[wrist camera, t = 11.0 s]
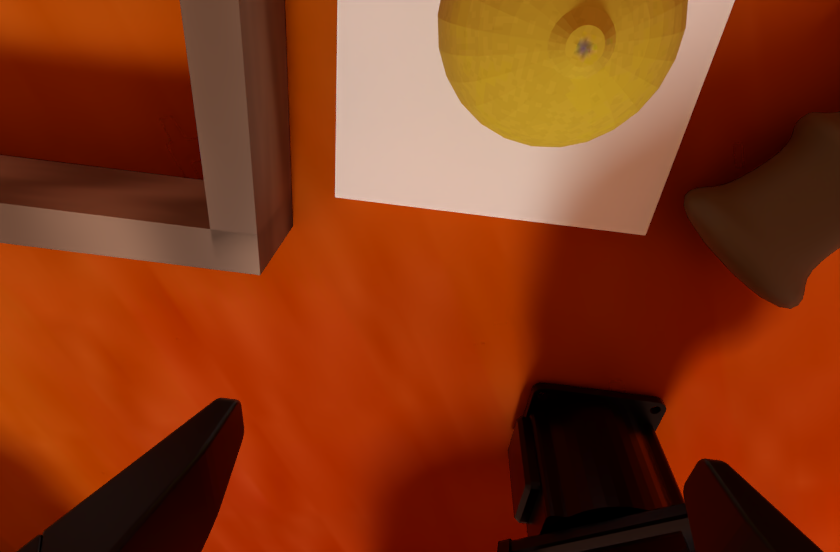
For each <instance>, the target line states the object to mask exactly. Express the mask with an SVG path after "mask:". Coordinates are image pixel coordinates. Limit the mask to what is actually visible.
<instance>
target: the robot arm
mask: <svg viewBox="0 0 840 552" xmlns="http://www.w3.org/2000/svg"><path fill="white" fill-rule="evenodd" d="M541 392H545V393H544V394H539V393H541ZM655 406H656V407H655ZM652 407H654V408H652ZM665 412H666V407H665V404H664V402H663V400H662V399H661V398H659V397H654V396H646V395H638V394H630V393H622V392H614V391H606V390H598V389H590V388H583V387H575V386H567V385H559V384H551V383H538V384H536V385H534V386H533V388H532V390H531V393H530V396H529V400H528V403H527V406H526V410H525V413H524V416H520V417H519V418H518V419H517V421H516V424H515V427H514V431H513V434H512V438H511V441H510V445H509V448H508V458H509V468H510V479H511V489H512V500H513V510H514V517H515V519H516V520H517V521H518V522H519V523H526V524H527V533H528V537H526V538H521V539H517V540H511V539H506V540H502V541H499V542H498V550H497V552H823V551H822V550H821V549H820V548H819V547H818V546H817V545H815V544H814V543H813V542H812V541H811V540H810V539H809V538H808V537H807V536H806V535H805V534H803V533H802V532H801V531H800V530H799V529H798V528H797V527H796V526H795V525H794V524H793V523H791V522H790V521H789V520H788V519H787V518H786V517H785V516H784V515H783V514H782V513H781V512H779V511H778V510H777V509H776V508H775V507H774V506H773V505H772V504H771V503H770V502H769V501H767V500H766V499H765V498H764V497H763V496H762V495H761V494H760V493H759V492H758V491H757V490H755V489H754V488H753V487H752V486H751V485H750V484H749V483H748V482H747V481H746V480H745V479H743V478H742V477H741V476H740V475H739V474H738V473H737V472H736V471H735V470H734V469H732V468H731V467H730V466H729V465H728V464H727V463H725V462H723V461H719V460H712V459H701V460H700V461H698V463H697V464H696V466H695V468H694V469H693V471H692V473H691V474H690V476H689V477H688V479H687V481H686V482H685V485H684V490H683V494H684V499H683V497H682V494H681V492H680V490H679V487H678V485H677V482H676V480H675V478H674V475H673V473H672V471H671V468H670V466H669V463H668V461H667V459H666V456H665V454H664V452H663V449H662V447H661V444H660V442H659V440H658V437H657V435H656V433H655V431H656V429H657V427H658V425H659V423H660V421H661V419H662V417H663V415H664V413H665ZM243 436H244V423H243V415H242V407H241V403H240V401H239V400H236V399H228V398H218V399H216V400H214V401H213V402H212V403H210V404H209V405H208V406H206V407H205V408H204V409H203V410H201V411H200V412H199V413H197V414H196V415H195V416H193V417H192V418H191V419H189V420H188V421H187V422H186V423H184V424H183V425H182V426H180V427H179V428H178V429H176V430H175V431H174V432H172V433H171V434H170V435H169V436H167V437H166V438H165V439H163V440H162V441H161V442H159V443H158V444H157V445H155V446H154V447H153V448H152V449H150V450H149V451H148V452H146V453H145V454H144V455H142V456H141V457H140V458H138V459H137V460H136V461H134V462H133V463H132V464H131V465H129V466H128V467H127V468H125V469H124V470H123V471H121V472H120V473H119V474H117V475H116V476H115V477H114V478H112V479H111V480H110V481H108V482H107V483H106V484H104V485H103V486H102V487H100V488H99V489H98V490H97V491H95V492H94V493H93V494H91V495H90V496H89V497H87V498H86V499H85V500H83V501H82V502H81V503H80V504H78V505H77V506H76V507H74V508H73V509H72V510H70V511H69V512H68V513H66V514H65V515H64V516H63V517H61V518H60V519H59V520H57V521H56V522H55V523H53V524H52V525H51V526H49V527H48V528H47V529H45V530H44V532H43V535H37V536H36V537H35V538H33V539H32V540H31V541H30V542H28V543H27V544H26V545H24V546H23V547H22V548H20V549H19V550H18V551H16V552H201V551H202V549H203V547H204V545H205V542H206V540H207V538H208V536H209V534H210V531H211V529H212V527H213V525H214V522H215V520H216V517H217V515H218V512H219V509H220V506H221V504H222V501H223V498H224V495H225V492H226V489H227V486H228V483H229V479H230V476H231V473H232V470H233V467H234V464H235V461H236V458H237V455H238V452H239V449H240V446H241V443H242V440H243Z"/></svg>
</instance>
